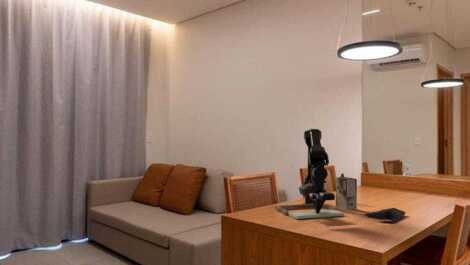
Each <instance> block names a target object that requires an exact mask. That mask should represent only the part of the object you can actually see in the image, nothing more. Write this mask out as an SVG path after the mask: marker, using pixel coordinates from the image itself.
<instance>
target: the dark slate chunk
mask: <svg viewBox="0 0 470 265" xmlns="http://www.w3.org/2000/svg"><path fill="white" fill-rule="evenodd" d="M405 214H406V211H404V210H401V209H398V208H396V207H390V208H383V209H380V210H377V211H376V210H375V211H372V212H368V213H367V212H366V213H363V216H367V217H368V218H371V219H375V220H381V221H379V223H381V224H390V225H392V224H394V223H396V222H399V221H400V219H401V218H403V216H405ZM383 220H385V221H383Z"/></svg>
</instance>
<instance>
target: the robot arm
mask: <svg viewBox="0 0 470 265" xmlns="http://www.w3.org/2000/svg"><path fill="white" fill-rule="evenodd" d="M303 140H304V143H305V144H306V146H307V170H306V171H307V174H306V175H305V177H304V178H303V182H302V185H301V186H299V187H298V191H299V193H300V196H301V195H302V196H304V202H303V203H302V204H313V205H314V208H313V209H314V211H316V213H319V212H320V211H322V209H323V208H322V206H323V204H326V203H325V202H326V201H334V200H336V194H334V193H333V192H330V191H327V189H325V184H327V180H326V179H327V178H328V170H327V169H326V168H325V166H329V164H330V160H329V158H330V157H329V154H328V153H327V152H326V148H325V147H324V146H322V143H321V140H322V131H321V130H320V129H318V128H309V129H308V130H305V131H304V132H303Z"/></svg>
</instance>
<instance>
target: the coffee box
mask: <svg viewBox="0 0 470 265" xmlns="http://www.w3.org/2000/svg"><path fill="white" fill-rule="evenodd" d="M357 181H358V179H357V178H353V177H348V176H344V177H340V176H336V177H335V200H336V202H335V207H336V208H339V209H343V210H346V211H348V210H357V205H358V204H357V203H358V202H357V199H358V197H357V196H358V194H357V192H358V191H357V190H358V187H357V186H358V184H357V183H358V182H357Z"/></svg>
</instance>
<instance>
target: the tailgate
mask: <svg viewBox="0 0 470 265" xmlns="http://www.w3.org/2000/svg"><path fill="white" fill-rule="evenodd" d="M288 216H289V217H291V218H294V219H296V220H300V219H325V218H329V217H341V216H343V217H344V216H345V212H343V211H339V210H337V209H336V210H326V209H323V210H322V209H321V210H320V212H319V213H316V211H315V210H313V211H311V210H309V211H308V210H307V211H295V212H288Z"/></svg>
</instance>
